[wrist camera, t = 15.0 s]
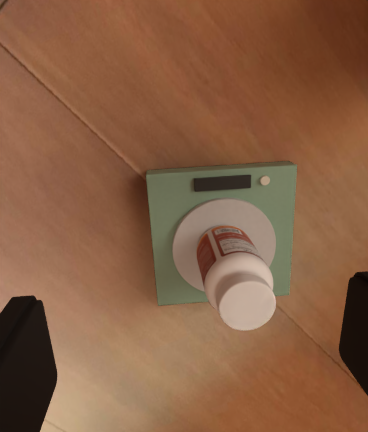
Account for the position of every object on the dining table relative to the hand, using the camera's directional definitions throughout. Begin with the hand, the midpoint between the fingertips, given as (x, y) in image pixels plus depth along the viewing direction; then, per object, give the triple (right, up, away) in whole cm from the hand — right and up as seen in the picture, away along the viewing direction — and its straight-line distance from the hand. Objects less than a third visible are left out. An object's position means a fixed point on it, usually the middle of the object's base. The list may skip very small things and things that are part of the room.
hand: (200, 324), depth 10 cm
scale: (+4, +1, +30) cm, 30 cm away
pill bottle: (+4, 0, +27) cm, 27 cm away
